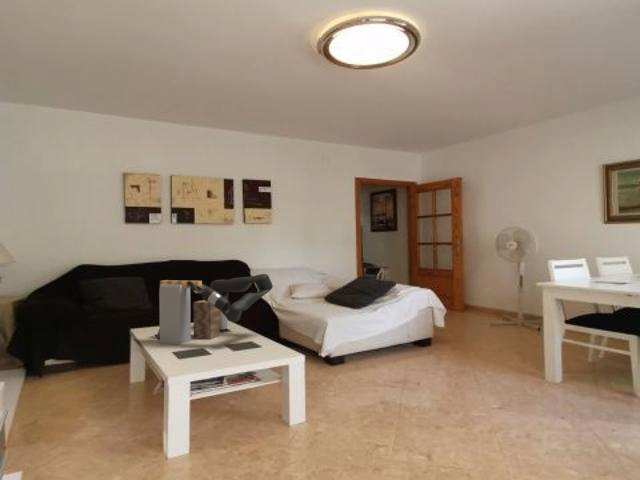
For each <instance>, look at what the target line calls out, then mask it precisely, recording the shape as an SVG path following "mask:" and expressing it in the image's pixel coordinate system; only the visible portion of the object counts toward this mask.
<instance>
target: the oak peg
mask: <svg viewBox="0 0 640 480" xmlns="http://www.w3.org/2000/svg"><path fill="white" fill-rule="evenodd" d="M188 281H190V282H192V283H193V284H195V285H196V286H197V285H198V286H200V287H202V286H201V285H202V284H203V283H202V282H203V281H202V280H194V281H193V280H171V279H169V280H168V279H165V280H159V286H160V285H161V284H167V285H182V288H191V287H190V286H189V285H187V282H188ZM197 289H198V287H197Z"/></svg>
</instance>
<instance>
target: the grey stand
mask: <svg viewBox="0 0 640 480" xmlns="http://www.w3.org/2000/svg"><path fill="white" fill-rule="evenodd" d="M158 289H159V294H158V296H159V328H160V339H159V344H169V345H182V344H185V343H189V342H191V338H192V337H191V334H192V333H191V332H192V331H191V325H192V324H191V289H190V288H182V285H167V284H161V285H160V284H159V288H158Z"/></svg>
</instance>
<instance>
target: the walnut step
mask: <svg viewBox="0 0 640 480" xmlns="http://www.w3.org/2000/svg"><path fill="white" fill-rule="evenodd" d="M192 305H193V339H199V340H213V339H216V338H219V337H220V335H221V334H220V333H221V331H220V310H219V309H217V308H216V307H215V306H213V305H211V304H209V303H208V302H207V301H205V300H204V299H203V300H201V299H200V300H197V301H193V304H192Z"/></svg>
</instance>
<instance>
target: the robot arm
mask: <svg viewBox="0 0 640 480" xmlns="http://www.w3.org/2000/svg"><path fill="white" fill-rule="evenodd" d="M187 281H188V282H187V285H189V286H190V287H191V288H190V291H192V292H193V294H195V295H197V294H199V295H201V297H202V299H203V300H205V301H207V302H208V303H209V304H211V305H213V306H215V307H216V308H217V309H219V310H220V330H221V331H222V330H226V329H228V321H230V322H233V323H236V322H238V321H239V320H240V319H241V316H242V312H245V311H247V310H248V309H249V308H250V307H252V305H253V304H255V302H256V301H258V300H260V299H261V298H262V297H264V296H265V295H266V294H268V293H269V292H270V291H272V289H273V286H274V285H273V283H272V281H271V278H270V276H269V274H267V273H260V274H256V275H251V276H243V277H242V276H241V277H235V278H230V279H215V280H213V281H212V282H210V285H209V286H208V285H206V284H205V283H202V285H201V286H202V287H200V286H198V285H197V286H196V285H195V284H193V283H192V282H190V281H191V280H187ZM192 281H195V279H193V280H192ZM252 284H255V285H256V288H257V290H258V291H257V292H248V293H246V294H244V295H243V296H242V297H241V298H240V299H238V300H236V301H234V302H233V303H232V304H230V301H229V300H228V299H229V292H232V293H239V292H240V293H241V292H246V291H247V290H249V288H250V287H251V285H252ZM197 287H198V288H197Z"/></svg>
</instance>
